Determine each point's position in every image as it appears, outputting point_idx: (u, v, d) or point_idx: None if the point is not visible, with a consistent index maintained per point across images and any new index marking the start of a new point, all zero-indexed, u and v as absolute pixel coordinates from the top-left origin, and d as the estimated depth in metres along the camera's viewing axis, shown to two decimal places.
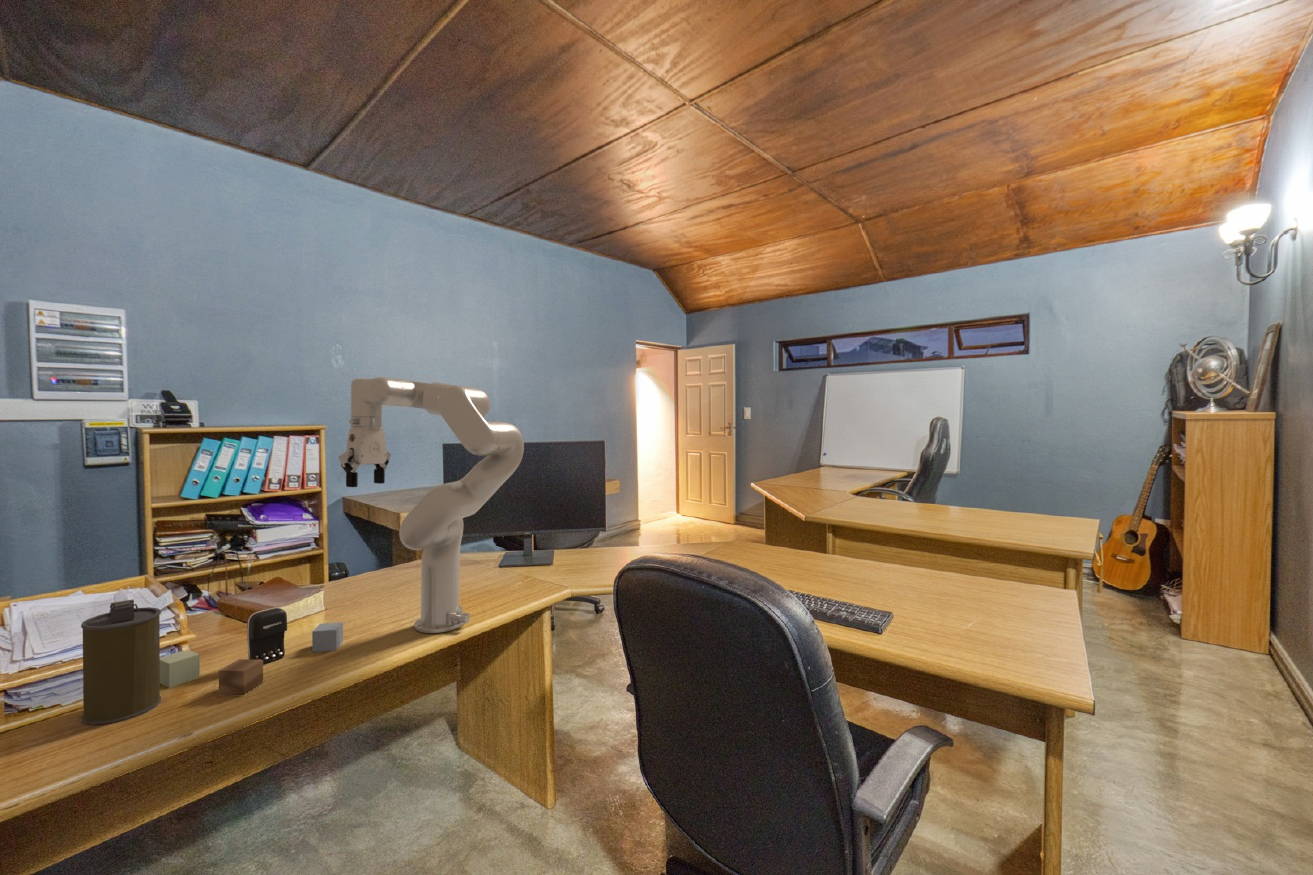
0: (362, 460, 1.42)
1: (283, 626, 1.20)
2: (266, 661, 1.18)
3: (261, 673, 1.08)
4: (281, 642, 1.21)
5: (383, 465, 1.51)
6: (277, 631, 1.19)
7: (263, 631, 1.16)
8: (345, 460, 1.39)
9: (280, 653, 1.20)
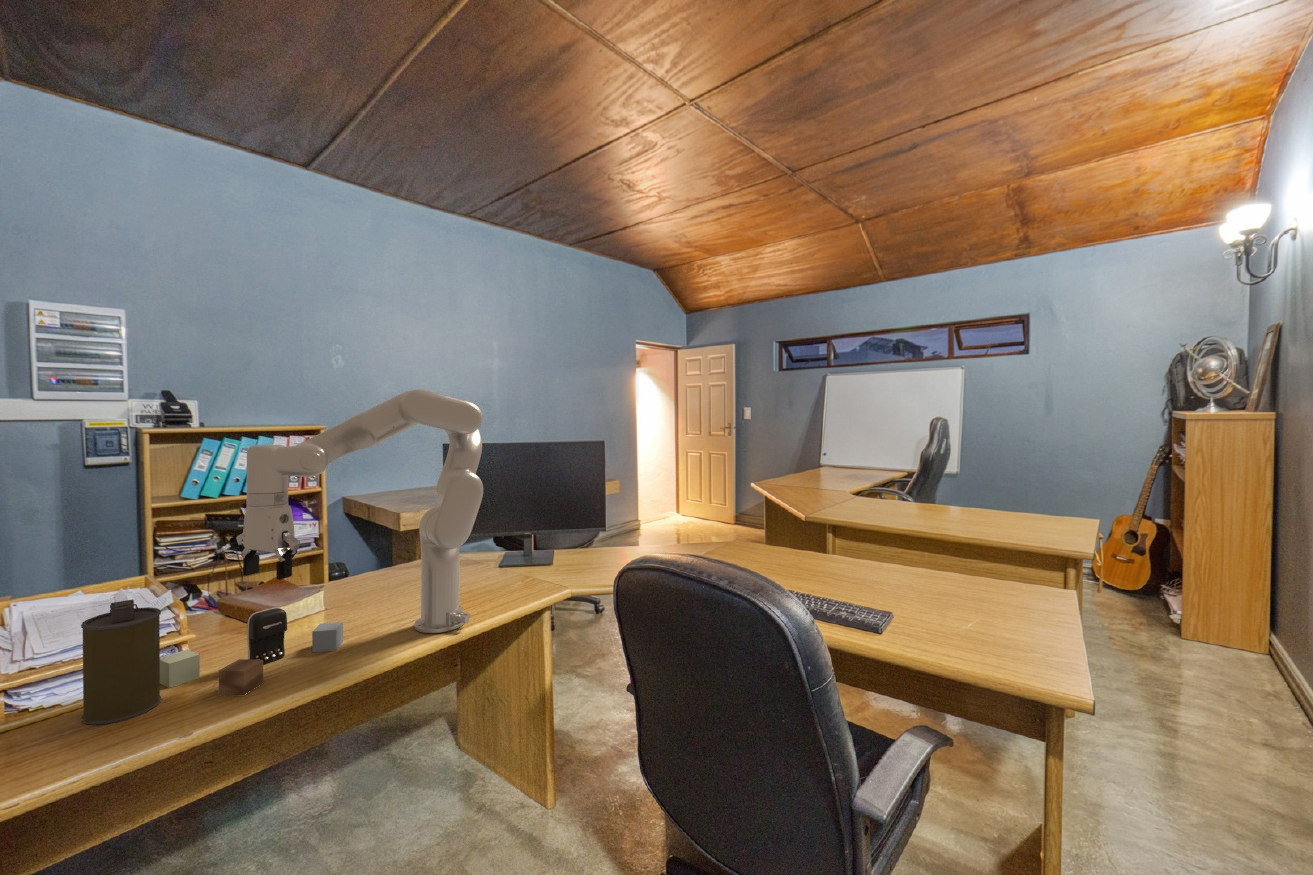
0: None
1: (283, 626, 1.20)
2: (266, 661, 1.18)
3: (261, 673, 1.08)
4: (281, 642, 1.21)
5: None
6: (277, 631, 1.19)
7: (263, 631, 1.16)
8: None
9: (280, 653, 1.20)
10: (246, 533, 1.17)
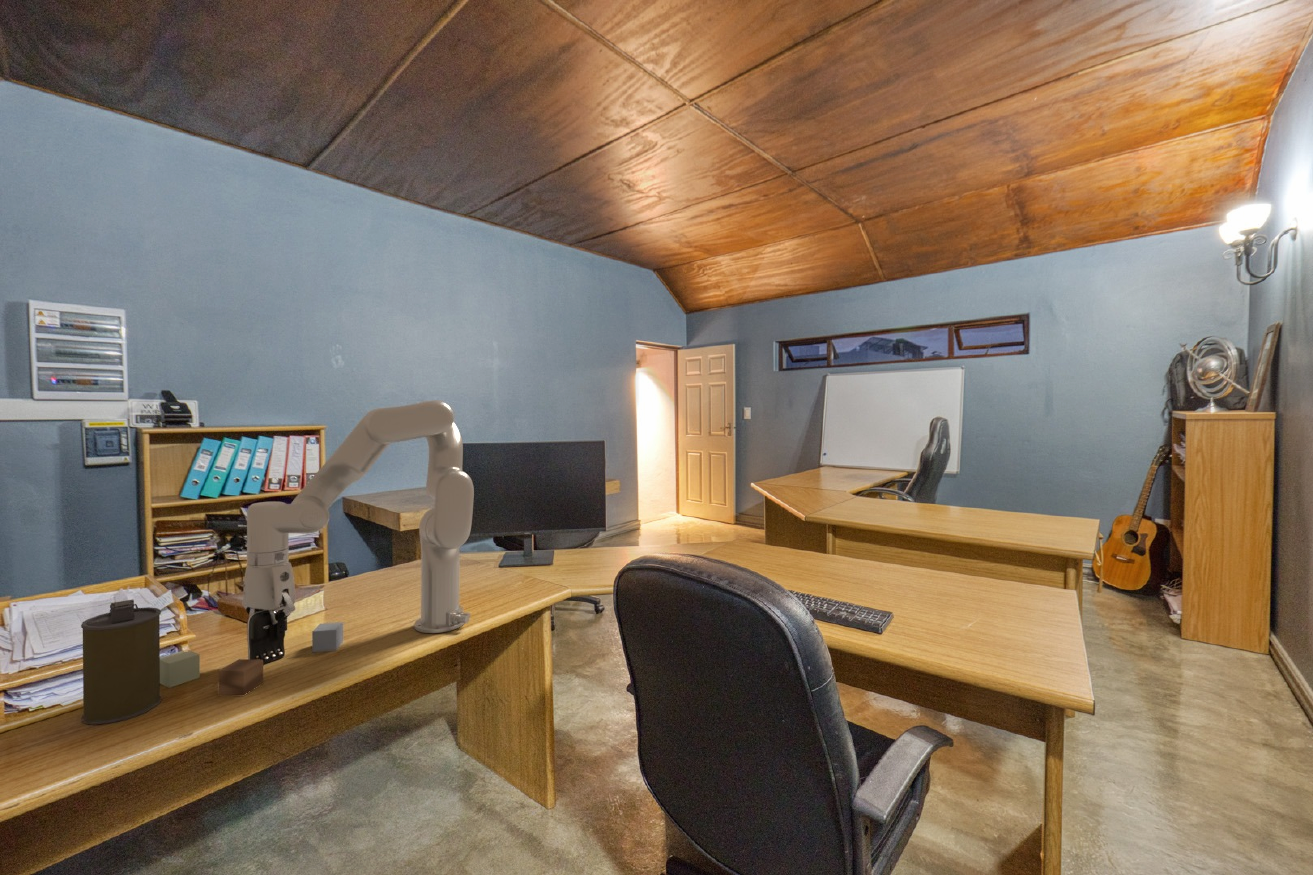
0: None
1: None
2: (266, 661, 1.18)
3: (261, 672, 1.08)
4: (281, 642, 1.21)
5: None
6: None
7: (264, 631, 1.16)
8: None
9: (280, 653, 1.20)
10: (246, 591, 1.17)
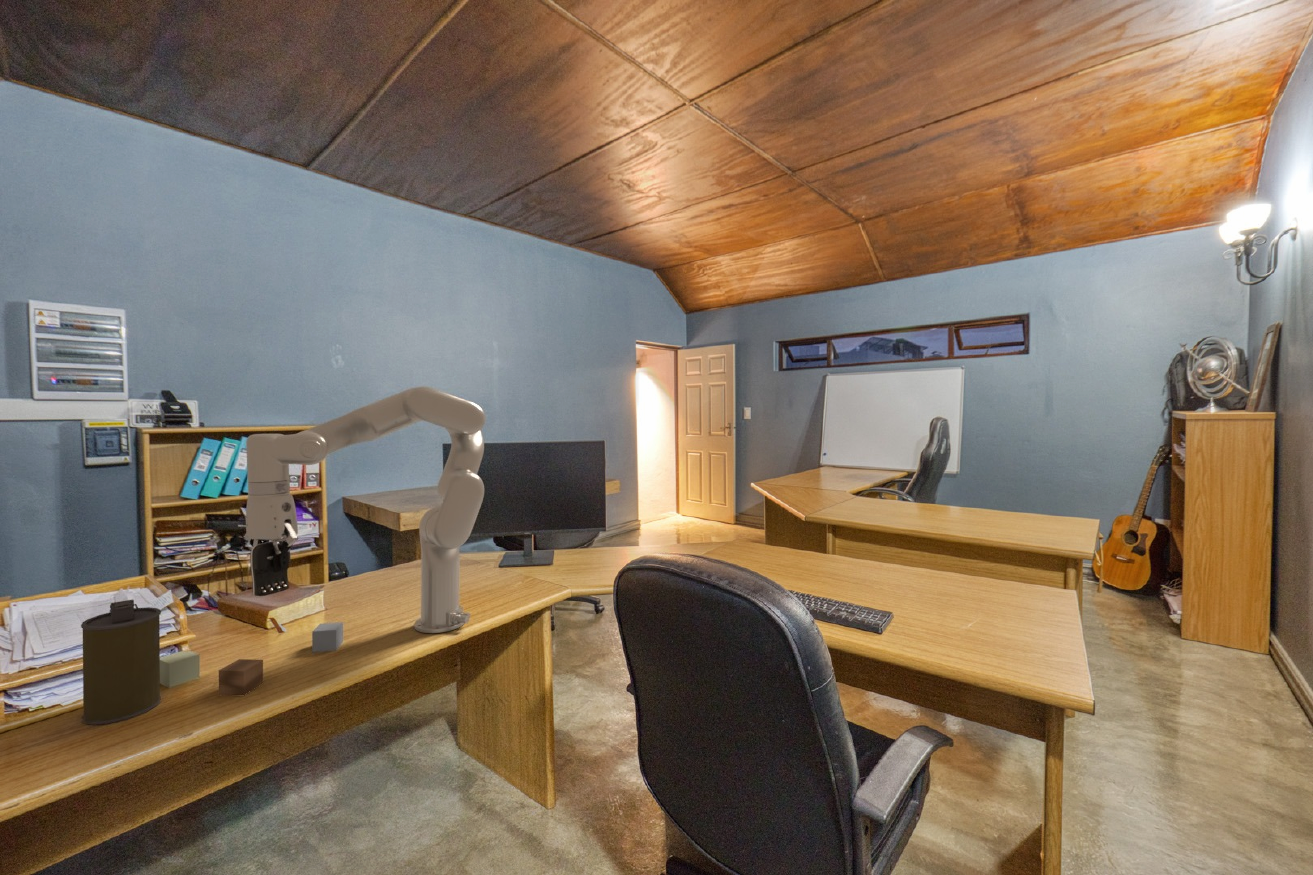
0: None
1: None
2: (271, 592, 1.18)
3: (261, 673, 1.08)
4: (285, 575, 1.21)
5: None
6: None
7: (268, 562, 1.16)
8: None
9: (284, 585, 1.21)
10: (249, 522, 1.17)
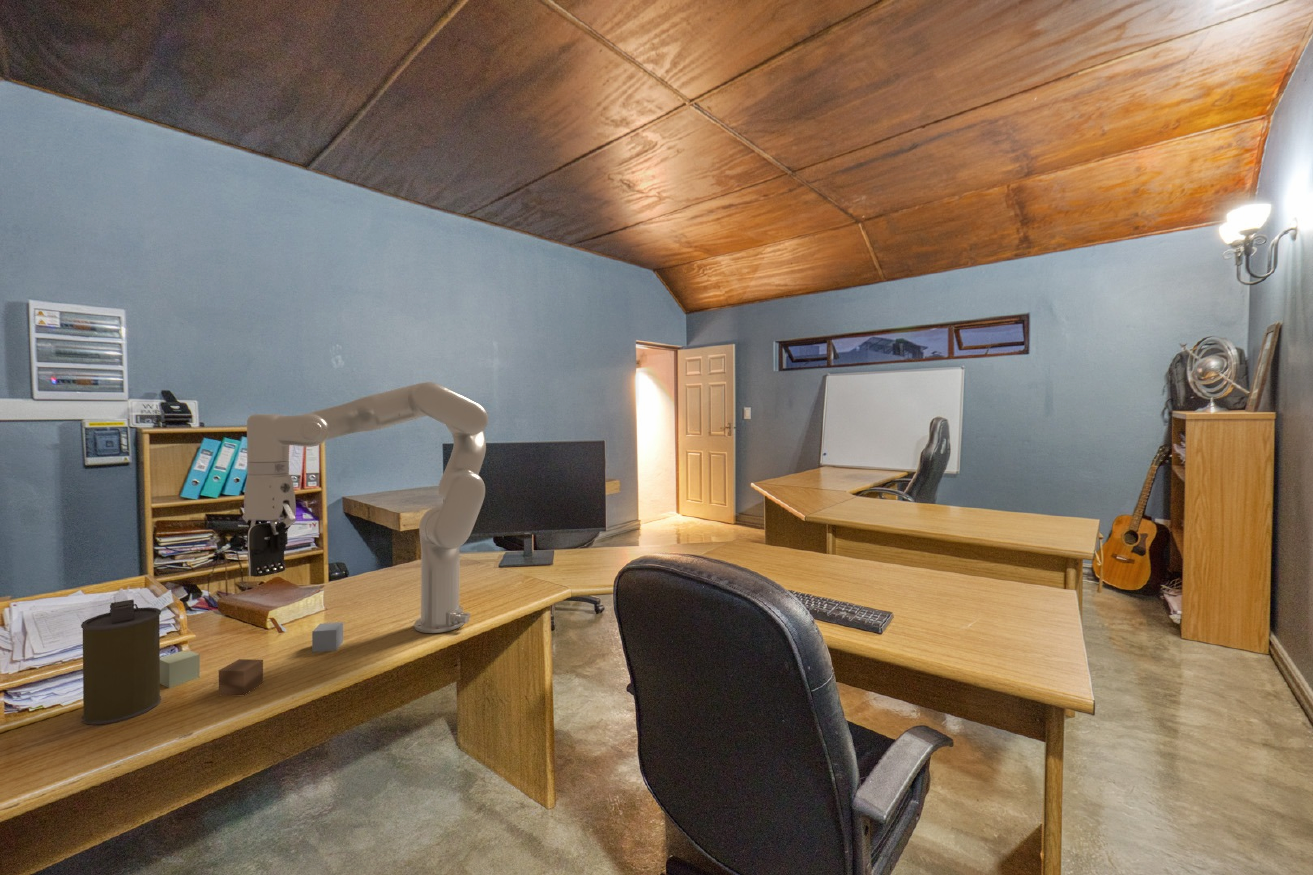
0: None
1: None
2: (267, 573, 1.17)
3: (261, 673, 1.08)
4: (281, 556, 1.21)
5: None
6: None
7: (265, 542, 1.16)
8: None
9: (281, 567, 1.20)
10: (247, 502, 1.17)
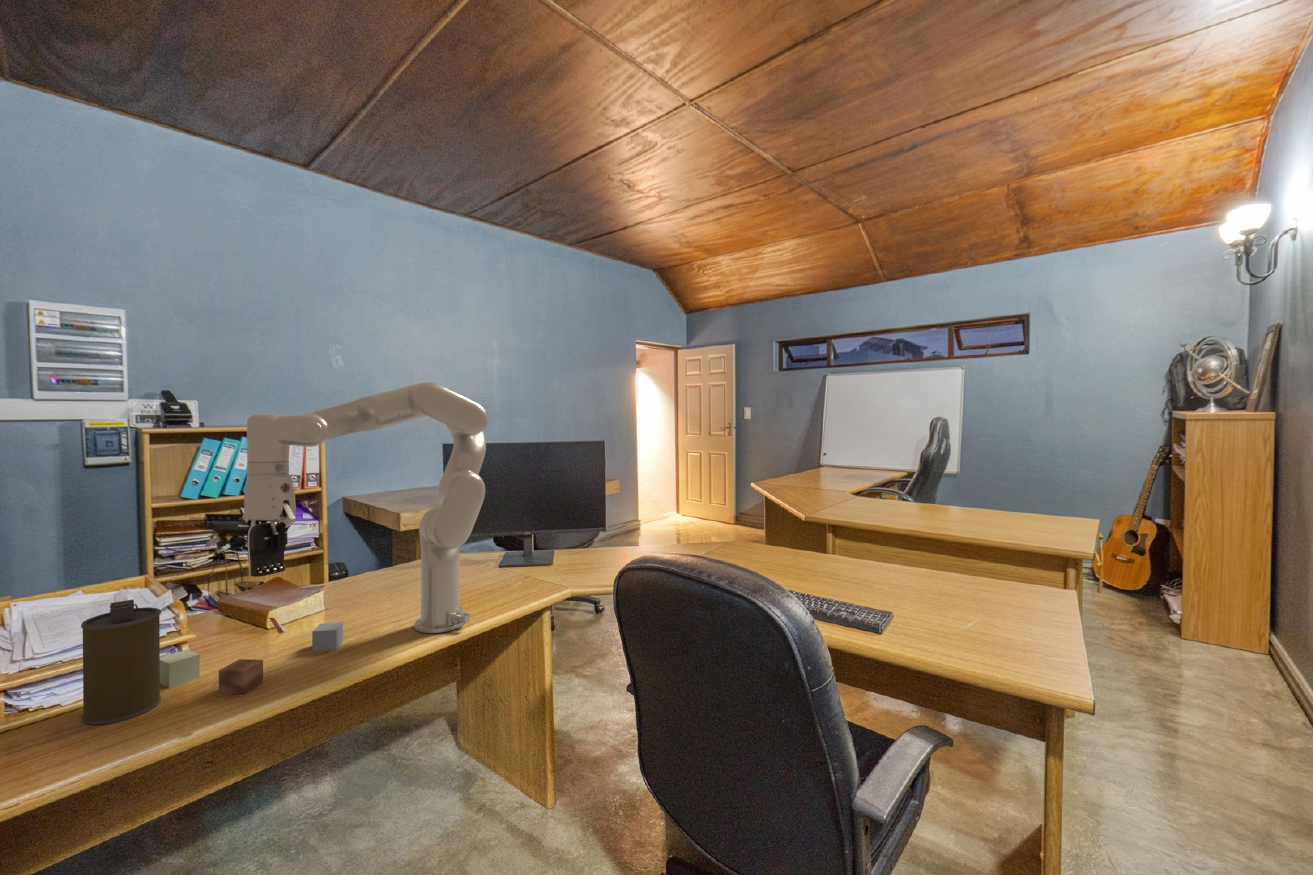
0: None
1: None
2: (267, 573, 1.17)
3: (261, 673, 1.08)
4: (281, 556, 1.21)
5: None
6: None
7: (265, 542, 1.16)
8: None
9: (281, 567, 1.20)
10: (247, 502, 1.17)
